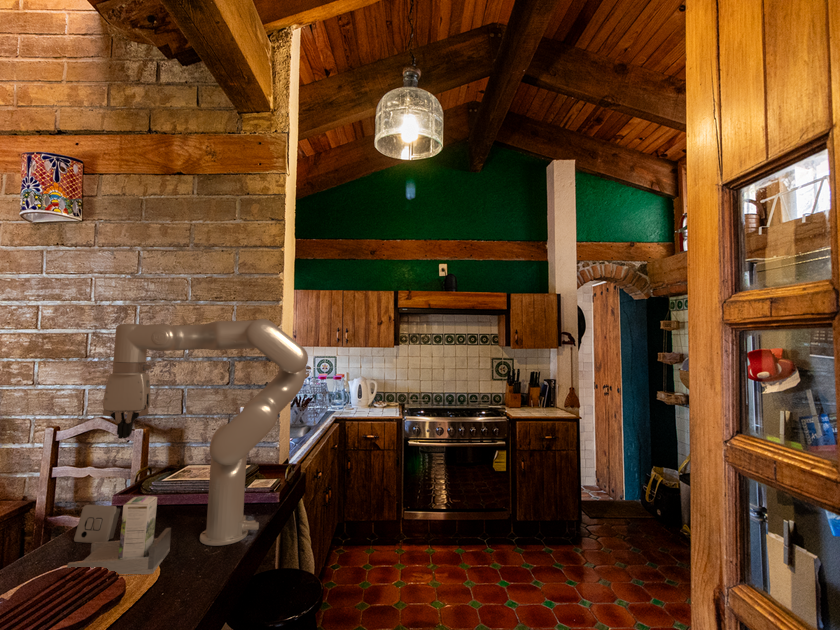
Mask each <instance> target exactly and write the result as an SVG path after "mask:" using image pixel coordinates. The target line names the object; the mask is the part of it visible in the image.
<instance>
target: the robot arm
mask: <svg viewBox="0 0 840 630" xmlns="http://www.w3.org/2000/svg"><path fill="white" fill-rule="evenodd" d="M114 335H115V337H114V348H113V358H112V359H113V360H112V361H113V363H112V372H111V373H110V374H109V375H108V377H107V378H108V379H107V382H106V384H105V390H104V395H103V400H102V401H103V403H102V408H103V411H102V415H103V416H106V417H110V418H112V419H113V420H115V423H116V424H117V426H116V427H117V428H116V435H117V436H118V437H117V439H119V440H120V439H128V438H130V436H131V435H132V433H133V422H135V420H137V419H138V418H139V417H142V416H146V415H149V414H150V413H149V412H150V411H149V408H150V406H151V398H152V397H151V396H152V395H151V381H150V380H151V379H150V374H149V373H147V371H151V370H152V365H151V364H148V363H147V356H148V355H147V352H148V350H149V351H156V352H169V351H170V352H173V351H190V350H191V351H192V350H193V351H194V350H210V351H226V350H227V351H229V350H249V349H257V350H258V351H259V352H260V353H261V354H263V355H264V356H265V357H267V358H268V359H269V360H270V361H271V362H273V363H274V364H275V365H277V366H278V372H277V374H276V375H275V377H274V378H273V379H272V380H271V381H269V383H268V384H267V385H266V386H265V387H264V388H263V389H262V390H260V391H259V392H258V393H257V395H255V396H254V397H253V398H251V399H250V400H249V401H247V403H245V405H244V406H243V408H242V410H241V411H240V412H239V413H238V414H237V415H236V416H235V417H234V418H233V419H232V420H230V422H228V423H225V424H222V425H221V426H220V427H218V428H217V429H216V430H215V431H214V433H213V435H212V438H211V441H210V443H209V455H210V471H209V483H208V497H207V513H206V514H207V515H206V529H205V530H204V531H202V532H201V533H200V535H199V541H200V543H202V544H204V545H206V546H215V547H216V546H218V547H219V546H226V545H231V544H235V543H238V542H240V541H242V540H243V539H245V538H246V537H247V536H248V535H249V531H250V530H251V531H257V530H259V528H260V523H259V521H257V522H256V520H254V519H253V520H248V519H246V515H244V510H245V509H244V508H245V507H244V506H245V490H246V489H245V488H246V473H247V457H248V456H247V455H248V454H249V453H250V452H251V450H253V449H254V448H255V447H256V446H257V445H258V444H259V443H260V442H261V441H263V439H264V438H265V437H266V436H267V435H268V434H269V433H270V432H271V431H272V430H273V429H274V427H275V425H276V424H277V420H278V415H279V414H280V413H281V412H282V411H284V409H285V408H286V407H287V406H288V405H289V404H290V403H291V401H293V399H295V398H296V396H297V395H299V392H300V391H301V389H302V388H303V386H304V384H305V380H306V375H307V365H308V362H309V355H308V352H307V350H306V349H305V348H304V347H303V346H302V345H301V344H300V343H298V342H297V341H296V340H294V339H293V338H292V337H291V336H290V335H288V334H287V333H286V332H285V331H283V330H282V329H281V328H280V327H279V326H278V325H276V323H274V322H273V321H271V320H270V319H267V318H258V319H255V320H254V319H253V320H249V319H248V320H217V321H211V322H208V323H203V324H189V325H188V324H187V325H185V324H183V325H181V324H180V325H178V324H177V325H170V324H165V323H157V324H141V323H120V324H118V325H117V326H116V327H115V333H114ZM125 412H126V413H127V414H125Z"/></svg>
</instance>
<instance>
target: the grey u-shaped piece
mask: <svg viewBox="0 0 840 630" xmlns="http://www.w3.org/2000/svg"><path fill="white" fill-rule="evenodd" d="M171 533H172V527H165V529H164V530H163V531H162V532H161V533H160V534H159V536H158V537H157V538H155V537H154V542H153V544H152V545H151V546H150V547H149V557H138V558H124V559H118V556H119V545H120V540H110V541H109V540H108V541H107V542H93V543H90V545H91V546H90V554H89V555H87V557H85V558H84V559H83V560H82V561H71V562H70V561H69V562H68V563H67V565H66V569H67V568H71V567H75V568H77V567H91V568H94V567H104V568H107V569H108V570H109V571H115V572H117V573H118V574H141V575H151V574H154V572H155V571H156V570H157V569H158V567H159V566H160V565H161V563H163V560H164V559H165V558H166V557H167V556H168V554H169V552H171V535H172V534H171Z"/></svg>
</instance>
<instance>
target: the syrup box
mask: <svg viewBox="0 0 840 630" xmlns="http://www.w3.org/2000/svg"><path fill="white" fill-rule="evenodd" d="M157 504H158V496H152V495H151V496H149V495H143V496H134V497H132V498H131V499H130V500H129V501H127V502H126V503H124V504H123V507H122V515H121V527H120V537H119V541H120V545H119V556H118V559H124V558H138V557H149V547H150V546H151V545H152V544H153V542H154V539H155V529H156V517H157V508H158V507H157V506H158V505H157Z"/></svg>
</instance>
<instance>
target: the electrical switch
mask: <svg viewBox="0 0 840 630" xmlns="http://www.w3.org/2000/svg"><path fill="white" fill-rule="evenodd" d="M80 513H81V514H80V517H79V520H78V524H77V528H76V531H75V534H74V538H73V540H74V542H76V543H87V544H92V543H93V542H107V541H109V540H111V539H114V536H115V532H116V529H117V523H118V521H119V516H120V513H121V508H117V506H116V505H101V504H99V505H98V504H85V505H84V506H83V507H82V511H81V512H80Z"/></svg>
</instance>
